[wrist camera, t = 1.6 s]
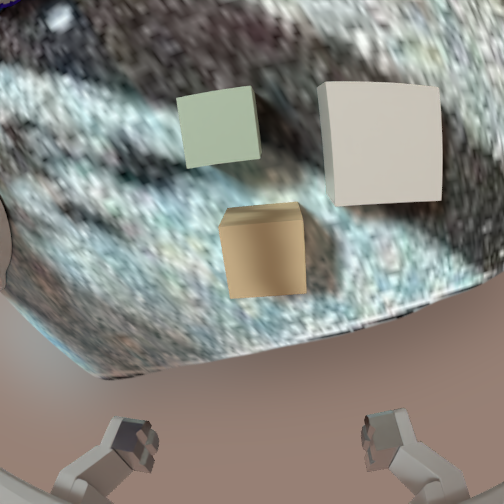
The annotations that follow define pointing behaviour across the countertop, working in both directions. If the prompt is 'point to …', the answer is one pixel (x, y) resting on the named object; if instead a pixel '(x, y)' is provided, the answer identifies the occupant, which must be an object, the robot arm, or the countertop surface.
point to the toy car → (7, 4)
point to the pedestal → (381, 142)
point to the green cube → (219, 127)
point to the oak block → (264, 250)
